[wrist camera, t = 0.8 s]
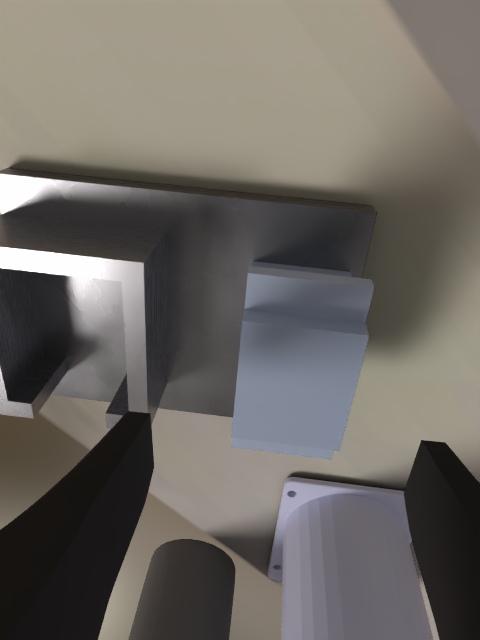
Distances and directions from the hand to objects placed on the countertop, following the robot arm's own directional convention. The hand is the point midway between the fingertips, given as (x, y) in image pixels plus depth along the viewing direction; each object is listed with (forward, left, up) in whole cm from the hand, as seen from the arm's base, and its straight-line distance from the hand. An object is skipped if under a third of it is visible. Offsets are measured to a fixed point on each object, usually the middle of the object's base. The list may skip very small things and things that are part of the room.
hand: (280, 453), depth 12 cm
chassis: (-1, +4, -10) cm, 11 cm away
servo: (-1, -1, -8) cm, 9 cm away
